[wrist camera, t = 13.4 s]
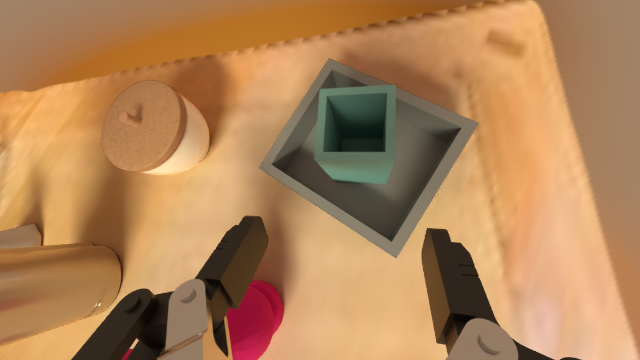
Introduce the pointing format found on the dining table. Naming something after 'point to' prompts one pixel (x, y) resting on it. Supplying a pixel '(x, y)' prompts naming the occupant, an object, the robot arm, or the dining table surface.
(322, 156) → the teal crate
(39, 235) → the flask
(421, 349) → the dining table surface
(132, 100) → the lidded jar
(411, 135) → the tray
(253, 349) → the pepper mill
